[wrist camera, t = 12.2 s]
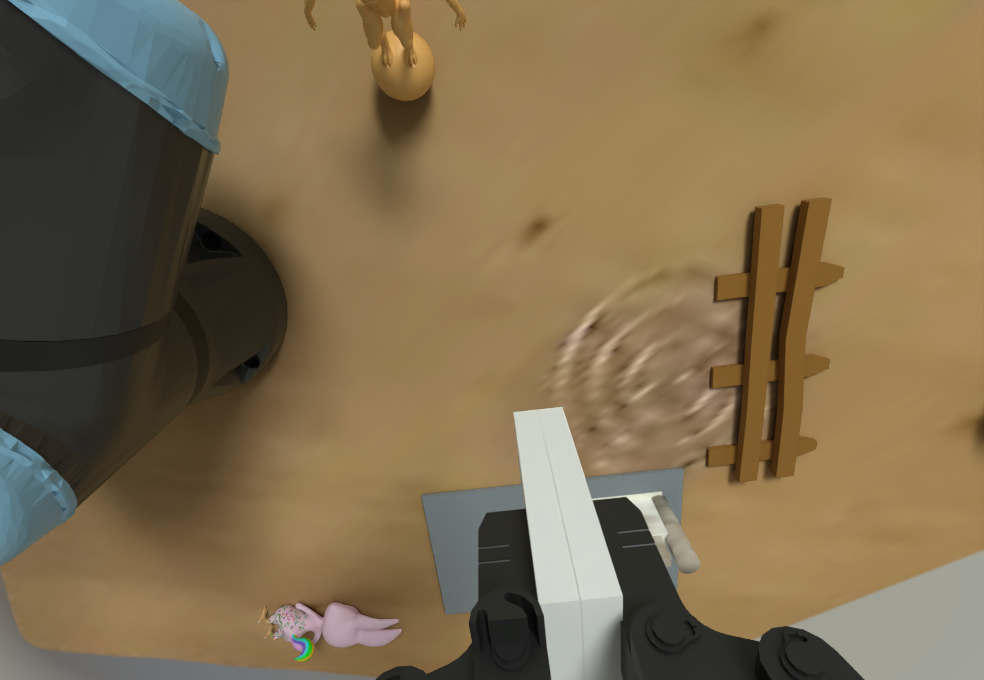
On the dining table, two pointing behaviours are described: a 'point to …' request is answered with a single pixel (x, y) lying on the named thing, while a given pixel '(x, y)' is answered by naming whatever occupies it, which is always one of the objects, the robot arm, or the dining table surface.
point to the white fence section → (668, 533)
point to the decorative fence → (792, 338)
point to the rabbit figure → (328, 627)
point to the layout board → (464, 510)
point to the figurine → (396, 47)
